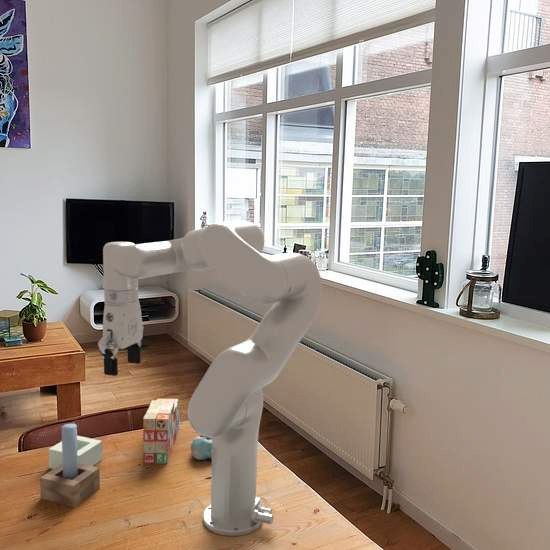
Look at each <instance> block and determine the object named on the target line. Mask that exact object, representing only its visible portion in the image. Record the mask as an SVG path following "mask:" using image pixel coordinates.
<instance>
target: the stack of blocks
mask: <svg viewBox="0 0 550 550" xmlns="http://www.w3.org/2000/svg"><path fill="white" fill-rule="evenodd" d="M179 410H180V409H179V399H178V398H157V399H156V400H154V399H152V400H151V402H150V404H149V406H148V409H147V411H146V413H145V414H144V416H143V423H142V425H143V431H142V436H143V452H142V455H143V457H142V458H143V459H142V460H143V461H142V463H143V464H154V465H155V464H162V465H163V464H165V465H166V464H167V465H168V463H169V460H170V458H171V455H172V453H171V452H173V449H174V444H175V442H176V438H177V436H178V432H179V430H178V429H180V426H179V425H180V422H179V421H180V414H179V413H180V411H179Z"/></svg>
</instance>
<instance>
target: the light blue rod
mask: <svg viewBox="0 0 550 550" xmlns="http://www.w3.org/2000/svg"><path fill="white" fill-rule="evenodd" d="M77 428H78V426H77V424H76V423H65V424H63V425H61V441H62V462H63V478H66V479H70V480H73V479H74V478H76V477H77V476H78V458H77V436H78V429H77Z"/></svg>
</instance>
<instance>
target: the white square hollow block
mask: <svg viewBox="0 0 550 550" xmlns="http://www.w3.org/2000/svg"><path fill="white" fill-rule="evenodd" d="M103 457H104V456H103V440H101V439H100V440H99V439H96V438H95V439H94V438H90V437H87V436H82V435H81V436H80V435H77V458H78V463H81V464H85V465H89V466H94V467H95V465H97V464H99V463H100V462H101V461H103ZM62 463H63V462H62V440H60V442H59V443H56V444H55V445H53V446H52V447H50V448H48V468H49V469H51V470H53V469H55V468H56V467H58V466H59V465H61V464H62Z"/></svg>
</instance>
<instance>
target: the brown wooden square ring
mask: <svg viewBox="0 0 550 550" xmlns="http://www.w3.org/2000/svg"><path fill="white" fill-rule="evenodd" d="M100 471H101V470H100V467H98V466H95V465H94V466H89V465H85V464H81V463H78V476H77V477H76V478H74V479H73V480H70V479H66V478H63V463H62V464H61V465H59V466H58V467H56V468H55V469H51V470H50V471H48V472H47V473H45V474H44V475H42V476H40V477H39V485H40V486H39V487H40V499H41V500H44V501H48V502H52V503H56V504H60V505H63V506H67V507H70V508H75V507H77V506H78V505H79V504H81V503H83V501H84V500H86V499H87V498H89V497H90V496H91V495H93V494H94V493H95V492H97V491H98V490H99V489H100V488H101V487H100V486H101V485H100V484H101V483H100V481H101V480H100V479H101V478H100Z"/></svg>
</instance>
